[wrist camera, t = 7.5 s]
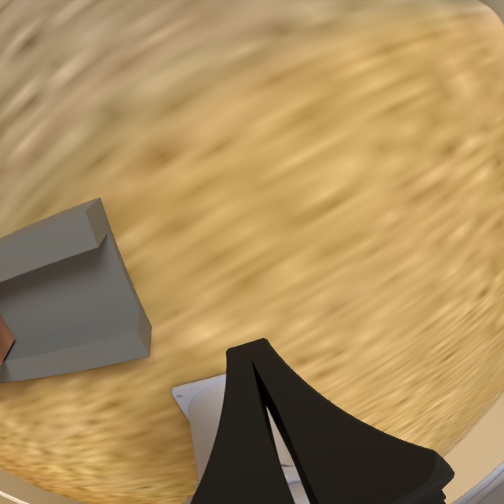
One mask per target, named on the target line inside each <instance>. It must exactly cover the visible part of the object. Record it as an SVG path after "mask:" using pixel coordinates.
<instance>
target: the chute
mask: <svg viewBox="0 0 504 504" xmlns="http://www.w3.org/2000/svg"><path fill="white" fill-rule="evenodd" d="M0 315H1V317H2V318H3V320H4V322H5V324H6V325H7V327H8V329H9V330H10V332H11V333H12V335H13V337H14V338H15V340H14V341H13V343H12V345H11V347H10V349H9V350H8V352H7V354H6V356H5V358H4V360H3V362H2V364H1V365H0V383H7V382H15V381H22V380H29V379H36V378H43V377H49V376H55V375H61V374H66V373H72V372H77V371H83V370H88V369H93V368H98V367H103V366H108V365H113V364H117V363H122V362H126V361H131V360H135V359H140V358H144V357H148V356H150V341H151V324H150V322H149V320H148V318H147V316H146V314H145V312H144V309H143V307H142V305H141V303H140V300H139V298H138V296H137V294H136V291H135V289H134V287H133V284H132V282H131V280H130V277H129V275H128V272H127V270H126V267H125V265H124V262H123V260H122V257H121V255H120V252H119V250H118V247H117V244H116V242H115V239H114V236H113V234H112V231H111V228H110V225H109V222H108V220H107V217H106V214H105V211H104V208H103V205H102V202H101V199H100V198H98V199H95V200H92V201H89V202H87V203H84V204H81V205H79V206H76V207H73V208H71V209H68V210H66V211H63V212H61V213H58V214H56V215H53V216H51V217H48V218H46V219H44V220H41V221H39V222H36V223H34V224H32V225H29V226H27V227H25V228H23V229H20V230H18V231H16V232H14V233H12V234H9V235H7V236H5V237H3V238H1V239H0Z"/></svg>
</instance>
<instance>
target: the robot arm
mask: <svg viewBox="0 0 504 504" xmlns="http://www.w3.org/2000/svg"><path fill="white" fill-rule="evenodd" d="M226 360H227V368H226V374H223V375H219V376H216V377H212V378H208V379H204V380H200V381H196V382H192V383H188V384H184V385H180V386H176V387H173V388H172V390H171V393H172V395H173V397H174V398H175V400H176V402H177V403H178V405H179V406H180V408H181V409H182V411H183V413H184V414H185V416H186V417H187V419H188V420H189V422H190V429H191V437H192V444H193V451H194V458H195V465H196V471H197V478H198V483H197V484H195V488H196V492H195V494H194V496H189V497H187V499H186V501H185V502H184V503H183V504H446V503H445V502H444V499H446V496H445V494H444V493H443V491H442V489H443V488H444V487H445V486H446V485H447V484H448V483H449V482H450V481H451V480H452V479H453V478H454V474H455V473H454V471H453V470H452V468H451V467H450V465H449V464H448V463H447V462H446V461H445V460H444V459H443V458H442V457H441V456H440V455H439V454H438V453H437V452H436V451H434V450H431V449H428V448H424V447H421V446H418V445H415V444H412V443H409V442H406V441H403V440H401V439H398V438H396V437H394V436H391V435H389V434H386V433H384V432H382V431H380V430H378V429H376V428H374V427H372V426H370V425H368V424H366V423H364V422H362V421H360V420H358V419H357V418H355V417H353V416H352V415H350V414H348V413H347V412H345V411H343V410H342V409H340V408H339V407H337V406H336V405H334V404H333V403H331V402H330V401H329V400H327V399H326V398H325V397H323V396H322V395H321V394H319V393H318V392H317V391H316V390H314V389H313V388H312V387H311V386H310V385H308V384H307V383H306V382H305V381H304V380H303V379H302V378H301V377H300V376H299V375H297V374H296V373H295V372H294V371H293V370H292V369H291V368H290V367H289V366H288V365H287V364H286V363H285V362H284V360H283V359H282V358H281V357H280V356H279V355H278V354H277V352H276V351H275V350H274V349H273V347H272V346H271V345H270V343H269V342H268V340H267V339H265V338H262V339H259V340H255V341H252V342H249V343H246V344H242V345H239V346H236V347H232V348H229V349H228V350H227V351H226ZM292 460H293V461H292ZM293 462H294V463H293ZM294 465H295V466H294ZM452 504H504V461H503V462H502V463H501V464H500V465H499V466H498V467H496V468H495V469H494V470H493V471H492V472H491V473H490V474H489V475H487V476H486V477H485V478H484V479H483V480H482V481H480V482H479V483H478V484H477V485H475V486H474V487H473V488H472V489H470V490H469V491H468V492H467V493H465V494H464V495H463V496H461V497H460V498H459V499H457V500H456V501H454V502H453V503H452Z"/></svg>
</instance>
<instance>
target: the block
mask: <svg viewBox="0 0 504 504" xmlns="http://www.w3.org/2000/svg"><path fill="white" fill-rule="evenodd" d="M14 340H15V338H14V337H13V335H12V333H11V332H10V330H9V329H8V327H7V325H6V324H5V322H4V320H3V318H2V317H1V315H0V365H1V364H2V362H3V360H4V358H5V356H6V354H7V352H8V350H9V349H10V347H11V345H12V343H13V341H14Z"/></svg>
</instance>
